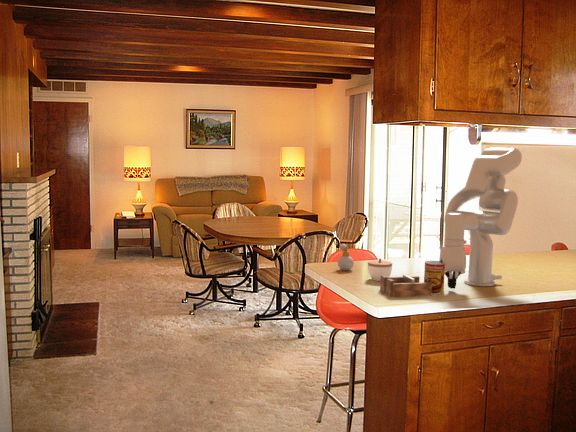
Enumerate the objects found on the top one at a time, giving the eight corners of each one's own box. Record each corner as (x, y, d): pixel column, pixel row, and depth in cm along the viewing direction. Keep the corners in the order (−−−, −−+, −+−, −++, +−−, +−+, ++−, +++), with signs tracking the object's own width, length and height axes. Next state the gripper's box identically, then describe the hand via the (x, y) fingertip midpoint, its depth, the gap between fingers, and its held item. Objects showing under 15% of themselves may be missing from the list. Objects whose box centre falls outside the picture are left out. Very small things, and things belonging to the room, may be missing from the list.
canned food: (422, 292, 247) (423, 263, 246) (425, 288, 255) (426, 260, 253) (442, 294, 245) (443, 264, 243) (444, 290, 252) (445, 261, 251)
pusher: (404, 288, 252) (405, 274, 251) (414, 294, 243) (414, 279, 242) (382, 289, 250) (382, 275, 249) (390, 294, 241) (391, 279, 240)
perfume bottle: (344, 272, 287) (345, 246, 285) (331, 268, 294) (331, 244, 293) (356, 270, 291) (357, 245, 290) (343, 267, 299) (343, 242, 298)
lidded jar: (362, 278, 274) (363, 257, 273) (383, 276, 278) (384, 256, 277) (375, 283, 264) (376, 261, 263) (396, 281, 268) (397, 260, 267)
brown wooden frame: (417, 288, 255) (418, 273, 255) (431, 295, 242) (432, 280, 242) (379, 289, 252) (379, 274, 251) (391, 296, 239) (391, 281, 238)
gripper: (466, 241, 254) (464, 285, 256) (432, 242, 251) (430, 286, 253) (475, 244, 247) (473, 289, 249) (440, 244, 244) (438, 290, 246)
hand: (451, 287), depth 251 cm, fingers closed
